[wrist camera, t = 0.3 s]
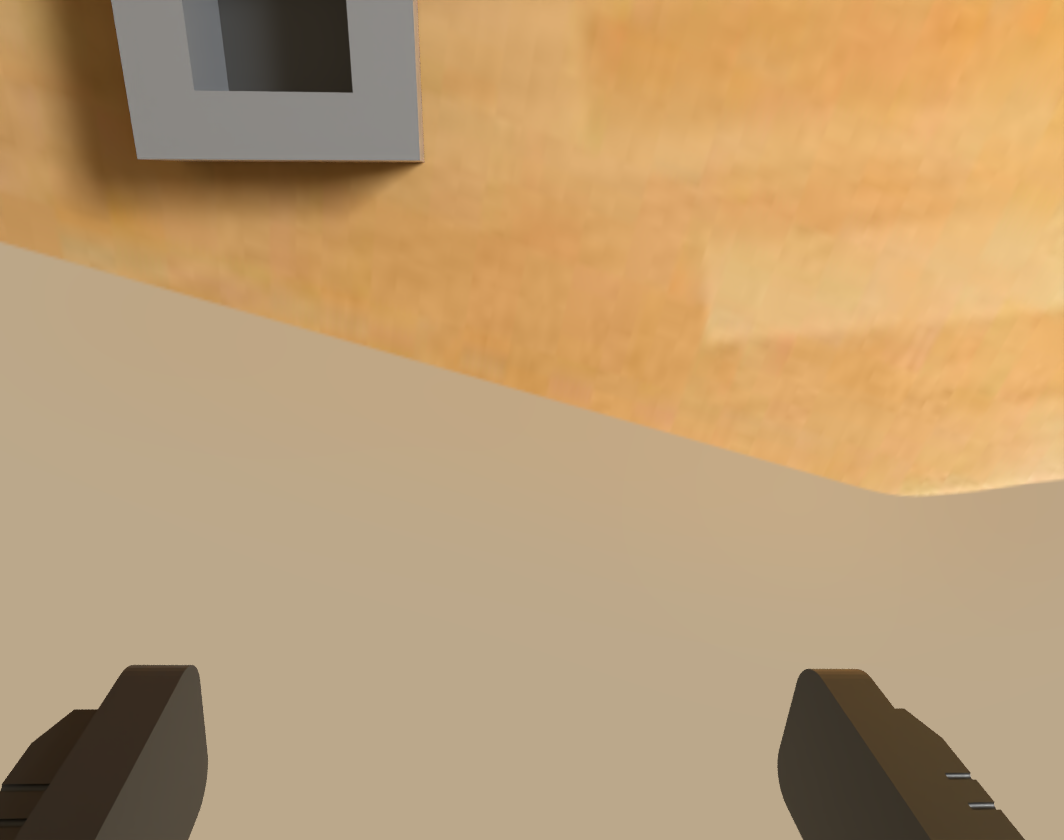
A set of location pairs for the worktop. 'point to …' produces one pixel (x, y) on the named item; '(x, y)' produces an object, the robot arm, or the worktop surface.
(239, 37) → the socket block
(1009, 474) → the worktop surface
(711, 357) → the worktop surface
